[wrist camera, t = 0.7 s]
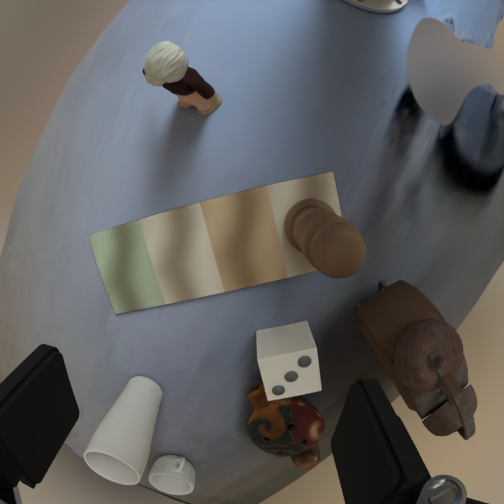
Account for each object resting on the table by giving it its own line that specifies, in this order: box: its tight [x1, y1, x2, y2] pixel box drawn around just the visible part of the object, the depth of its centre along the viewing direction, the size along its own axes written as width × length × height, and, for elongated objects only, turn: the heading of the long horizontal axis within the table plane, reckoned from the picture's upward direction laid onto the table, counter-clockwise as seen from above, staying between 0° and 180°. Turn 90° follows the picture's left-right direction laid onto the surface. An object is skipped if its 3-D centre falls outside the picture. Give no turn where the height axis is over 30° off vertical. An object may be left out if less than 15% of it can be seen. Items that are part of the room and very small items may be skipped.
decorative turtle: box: [247, 383, 325, 469], centre depth 34 cm, size 10×15×8 cm, turn 38°
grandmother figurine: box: [143, 41, 222, 116], centre depth 22 cm, size 8×4×13 cm, turn 73°
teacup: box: [148, 455, 195, 495], centre depth 39 cm, size 10×8×5 cm
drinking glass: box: [84, 376, 163, 485], centre depth 30 cm, size 7×7×15 cm
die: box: [256, 321, 322, 401], centre depth 32 cm, size 6×6×6 cm
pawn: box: [284, 199, 366, 278], centre depth 25 cm, size 6×6×12 cm
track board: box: [88, 172, 342, 314], centre depth 32 cm, size 28×10×1 cm, turn 104°
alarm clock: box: [356, 280, 477, 440], centre depth 24 cm, size 14×7×20 cm, turn 36°
